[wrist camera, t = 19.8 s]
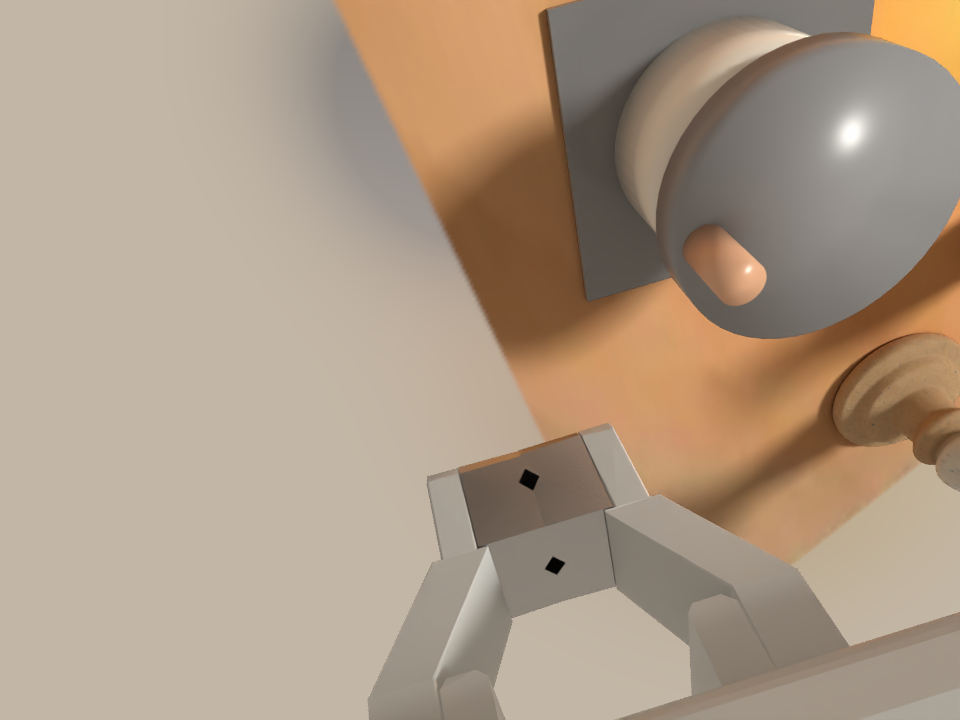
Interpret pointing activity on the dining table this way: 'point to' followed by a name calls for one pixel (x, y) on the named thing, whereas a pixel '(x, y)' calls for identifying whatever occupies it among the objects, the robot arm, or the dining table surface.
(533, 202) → the dining table surface
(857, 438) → the candle holder
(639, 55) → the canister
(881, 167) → the lid
